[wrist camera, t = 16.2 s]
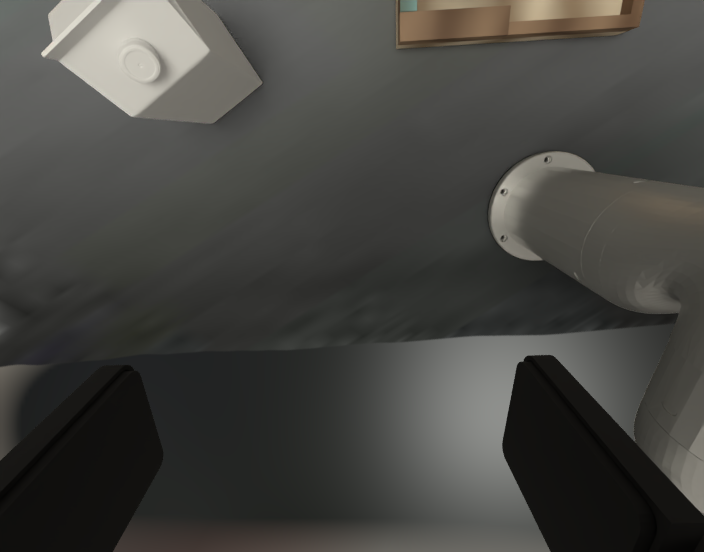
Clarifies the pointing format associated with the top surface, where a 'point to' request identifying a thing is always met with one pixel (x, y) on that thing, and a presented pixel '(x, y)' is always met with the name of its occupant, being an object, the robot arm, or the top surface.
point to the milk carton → (153, 56)
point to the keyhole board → (510, 20)
